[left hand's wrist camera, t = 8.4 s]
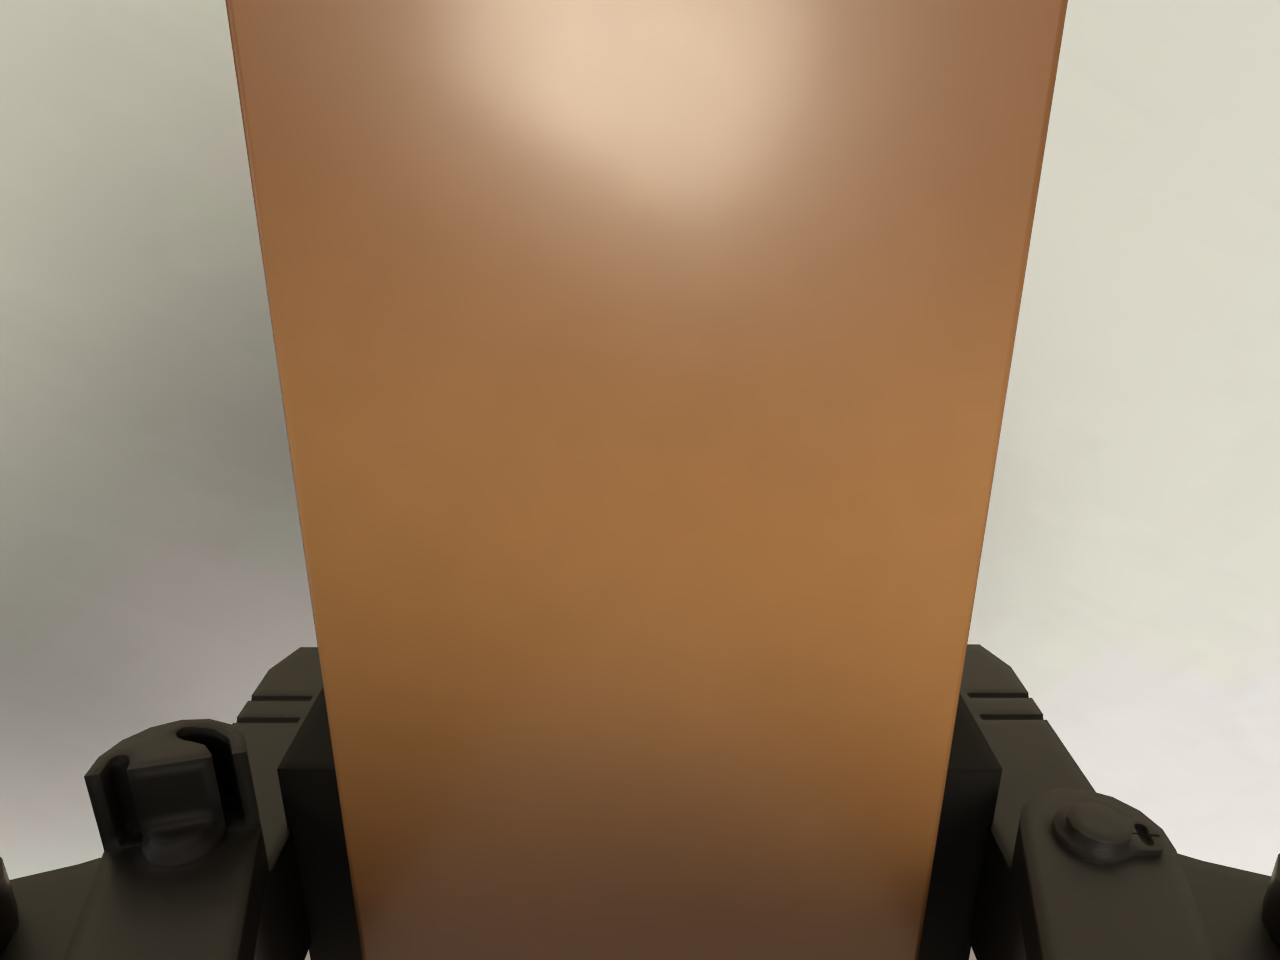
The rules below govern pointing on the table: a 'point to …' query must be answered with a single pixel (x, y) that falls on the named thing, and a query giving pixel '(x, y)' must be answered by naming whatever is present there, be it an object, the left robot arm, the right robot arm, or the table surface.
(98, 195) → the table surface
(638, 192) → the post
